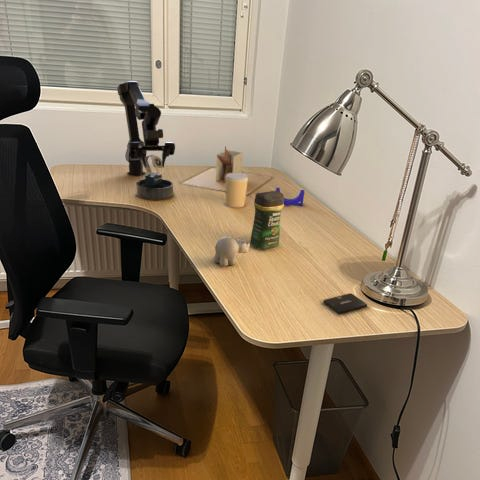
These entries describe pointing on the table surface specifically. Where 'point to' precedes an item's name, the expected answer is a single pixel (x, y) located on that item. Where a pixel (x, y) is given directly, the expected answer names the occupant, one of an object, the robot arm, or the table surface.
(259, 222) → the coffee jar
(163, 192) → the bowl
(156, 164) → the watch
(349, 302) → the solid state drive
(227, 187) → the coffee cup
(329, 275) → the table surface
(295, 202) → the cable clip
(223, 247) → the chubby cartoon animal
